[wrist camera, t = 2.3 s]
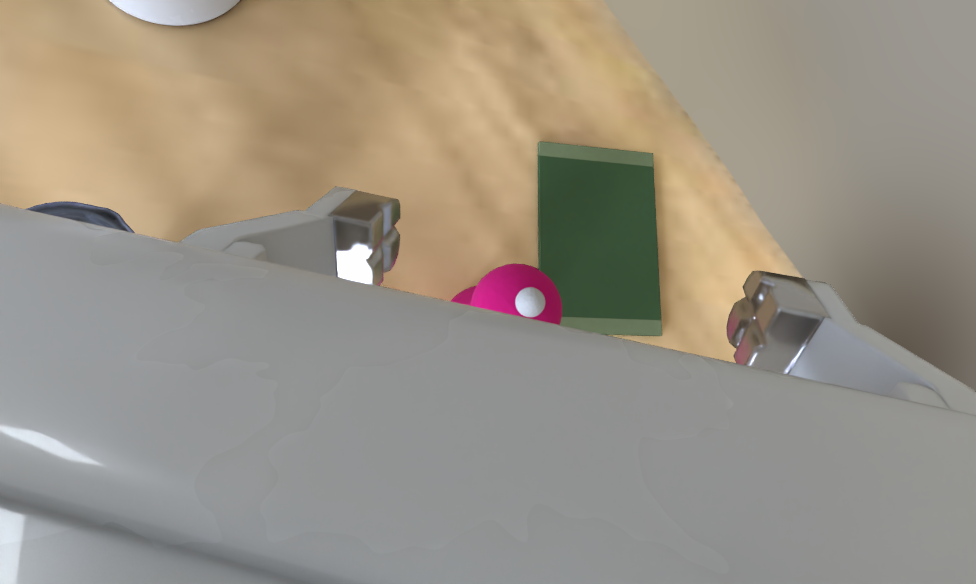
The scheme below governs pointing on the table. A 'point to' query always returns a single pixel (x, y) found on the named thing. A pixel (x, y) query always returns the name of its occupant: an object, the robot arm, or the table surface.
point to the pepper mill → (516, 293)
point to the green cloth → (600, 237)
